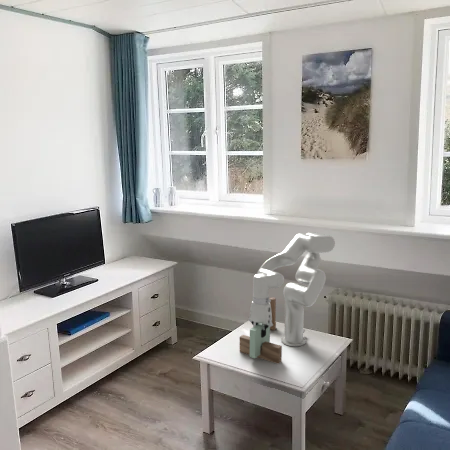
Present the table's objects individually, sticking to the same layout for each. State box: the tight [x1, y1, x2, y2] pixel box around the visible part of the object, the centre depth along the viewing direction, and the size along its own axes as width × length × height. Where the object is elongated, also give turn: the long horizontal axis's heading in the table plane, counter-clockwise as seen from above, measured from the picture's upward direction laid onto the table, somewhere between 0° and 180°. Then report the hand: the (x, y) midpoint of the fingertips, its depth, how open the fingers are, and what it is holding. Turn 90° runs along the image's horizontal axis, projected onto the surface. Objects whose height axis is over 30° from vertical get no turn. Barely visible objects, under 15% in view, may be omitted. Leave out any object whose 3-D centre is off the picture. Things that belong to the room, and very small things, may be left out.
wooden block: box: [258, 296, 277, 331], centre depth 262 cm, size 4×11×18 cm, turn 80°
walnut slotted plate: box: [239, 334, 283, 365], centre depth 232 cm, size 3×22×8 cm, turn 55°
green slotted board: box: [249, 323, 271, 359], centre depth 230 cm, size 14×3×14 cm, turn 145°
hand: (260, 335), depth 230 cm, fingers closed on green slotted board, 3 cm apart
